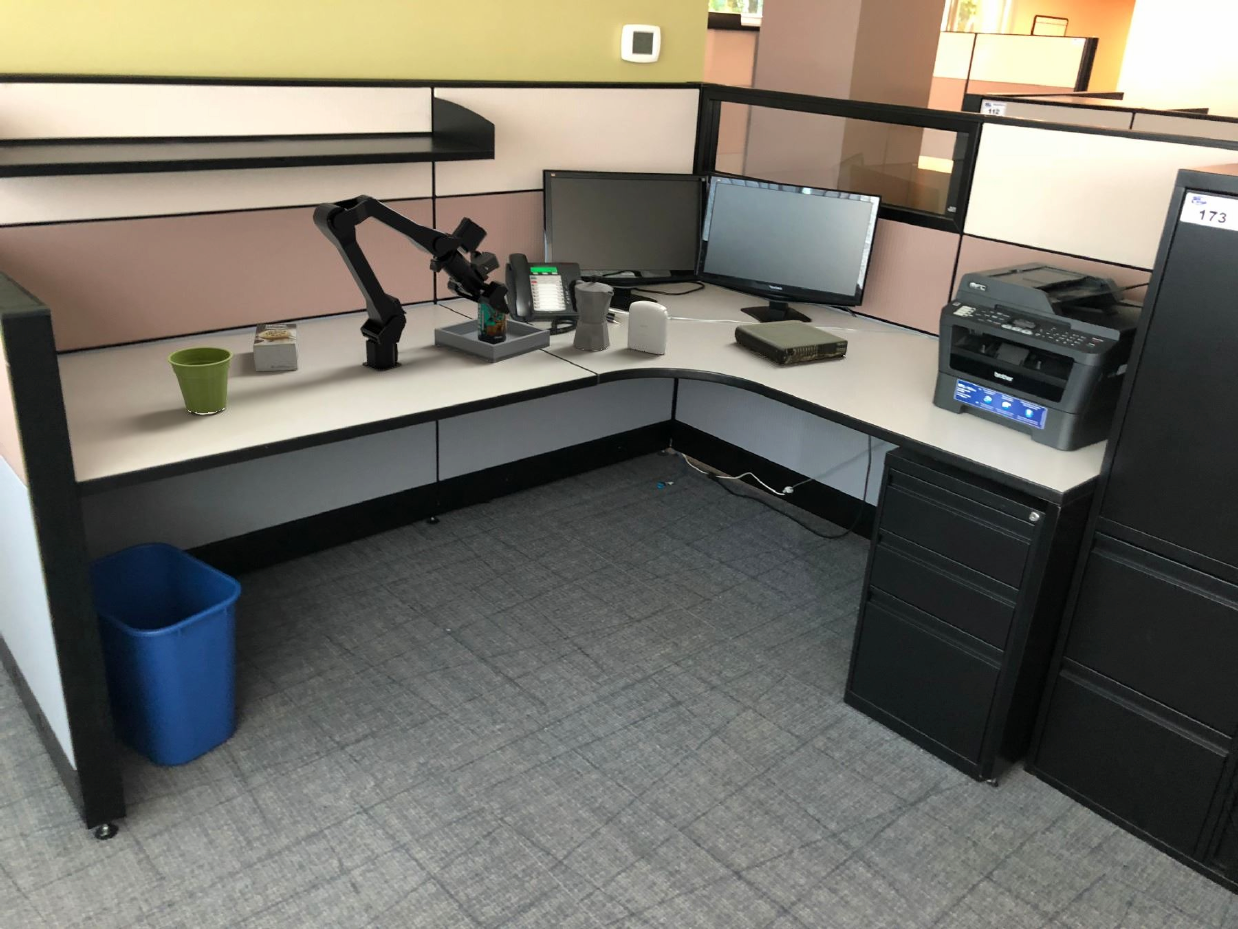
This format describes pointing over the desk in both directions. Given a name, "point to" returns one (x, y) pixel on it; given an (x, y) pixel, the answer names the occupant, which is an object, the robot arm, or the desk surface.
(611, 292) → the coffeepot
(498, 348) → the bin
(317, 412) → the desk surface
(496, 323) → the beverage can
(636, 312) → the photo printer
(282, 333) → the coffee box
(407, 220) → the robot arm
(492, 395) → the desk surface
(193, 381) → the plant pot
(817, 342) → the network switch
